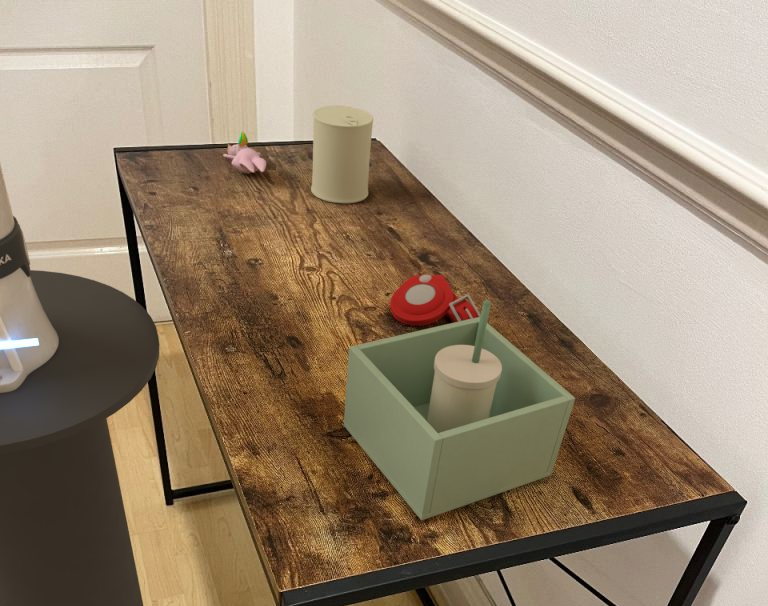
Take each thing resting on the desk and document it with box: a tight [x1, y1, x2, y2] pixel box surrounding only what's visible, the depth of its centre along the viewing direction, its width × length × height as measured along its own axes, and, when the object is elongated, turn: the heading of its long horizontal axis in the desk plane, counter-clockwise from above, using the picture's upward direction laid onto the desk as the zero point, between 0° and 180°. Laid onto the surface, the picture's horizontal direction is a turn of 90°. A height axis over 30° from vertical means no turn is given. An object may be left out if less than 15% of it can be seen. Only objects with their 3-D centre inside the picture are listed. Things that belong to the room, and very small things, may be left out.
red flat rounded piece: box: [389, 274, 481, 327], centre depth 99 cm, size 12×4×10 cm
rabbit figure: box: [222, 131, 267, 175], centre depth 126 cm, size 6×6×15 cm
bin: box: [343, 317, 576, 521], centre depth 77 cm, size 16×16×10 cm
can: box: [310, 105, 374, 205], centre depth 121 cm, size 9×9×12 cm
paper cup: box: [427, 299, 502, 434], centre depth 74 cm, size 6×6×16 cm
